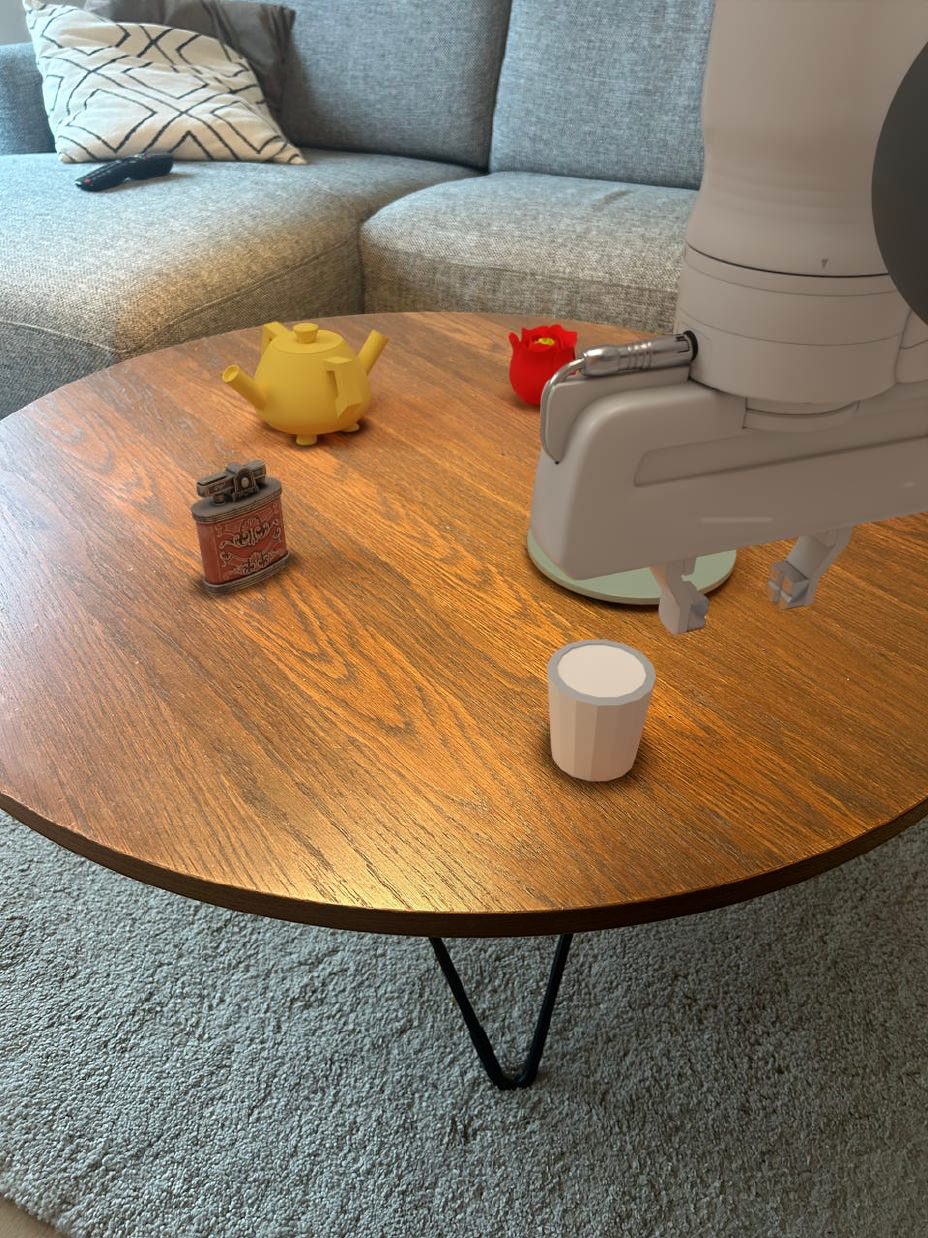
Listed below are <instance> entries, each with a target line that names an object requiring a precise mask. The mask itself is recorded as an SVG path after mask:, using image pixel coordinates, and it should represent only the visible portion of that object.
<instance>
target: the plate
mask: <svg viewBox="0 0 928 1238" xmlns="http://www.w3.org/2000/svg"><path fill="white" fill-rule="evenodd" d="M526 548H527V553H528V555H529V558H530V560H531V561H532V563H533V564H534V566H535V567H536V568H537V569H538V570H539V571H540V572H541V573H542V574H543V575H545V576H546V577H547V578H548V579H549V580H551V581H553V582H555V584H558V585H559V586H562V587H563V588H566V589H567V590H570V591H571V592H574V593H577V594H580V595H583V596H586V597H590V598H593V599H597V600H601V601H606V602H611V603H618V604H624V605H638V606H639V605H640V606H641V605H659V603H660V595H661V588H660V586H659V585H658V583H657V581H656V580H655V578H654V576H653V574H652V572H651V571H650V569H649V567H646V568H641V569H636V570H631V571H626V572H621V573H616V574H611V575H606V576H601V577H596V578H591V579H586V580H573V579H571V578H569V577H568V576H567V575H566V574H564V573H563V572H562V571H561V570H560V569H559V568H558V567H557V566H556V565H554V564H553V562H552V561H551V560H550V559H549V558H548V557H547V556H546V555H545V554H544V552H543V551H542V550H541V548H540V547H539V546H538V544H537V543H536V541H535V539H534V537H533V535H532V532H531V528H530V527H528V529H527V535H526ZM737 550H738V549H736V550H731V551H726V552H721V553H716V554H711V555H706V556H701V557H696V563H695V569H694V572H693V573H692V574H691V575H686V576H684V575H683V574H682V579H683V581H690V582H691V583H692V584H693V585H694V586H696V587H697V590H696V591H698V592H701V593H703V594H704V595H706V594H707V593H709V592H711V591H713V590H715V589H716V588H718V587H719V586H721V585H723V584H724V583H725V582H726V581H727V580H728V579H729V577H730V576H731V574H732V573H733V571H734V568H735V566H736V562H737V556H738V555H737V553H738V552H737Z"/></svg>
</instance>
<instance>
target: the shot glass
mask: <svg viewBox="0 0 928 1238" xmlns="http://www.w3.org/2000/svg"><path fill="white" fill-rule="evenodd" d="M546 674H547V692H548V695H547V696H548V714H549V731H550V733H549V734H550V749H551V756H552V760H553V761H554V762H555V764H556V765H557V766H558V767H559V769H560V770H561V771H563V772H564V773H566V774H568V775H569V776H571V777H573V778H576V779H580V780H583V781H587V782H609V781H612V780H614V779H615V780H616V779H618V778H621V777H623V776H624V775H625V774H626V773H628V772H630V770H631V769H632V768H633V766H634V763H635V760H636V757H637V753H638V750H639V746H640V741H641V738H642V734H643V730H644V726H645V723H646V719H647V714H648V711H649V709H650V704H651V699H652V696H653V691H654V688H655V685H656V680H657V674H656V670H655V668H654V663H653V662H652V661H651V660H649V658H648V657H647V656H646V655H645V654H644V653H643V652H641V651H640V650H637V649H636V648H634V647H632V646H630V645H628V644H626V643H623V642H617V641H613V640H610V639H604V638H603V639H602V638H601V639H582V640H577V641H574V642H570V643H566V644H564V645H563V646H561V647H560V648H559V649H557V650H555V652H553V653H552V655H551V657H550V659H549V660H548V662H547V664H546Z"/></svg>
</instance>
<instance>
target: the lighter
mask: <svg viewBox="0 0 928 1238" xmlns="http://www.w3.org/2000/svg"><path fill="white" fill-rule="evenodd" d="M266 475H267V467H266V462H265V461H264V460H262V459H255V460H252V461H249V462H245V463H243V464H241V463H239V462H237V461H232V462H229V463H228V464H226V467H225V469H224V471H217V472H215V473H212V474H209V475H207V476H204V477H201V478H199V479H197V481H196V482H195V487H196V494H197V496H198V497H200V498H202V499H200V500H198V501H196V502H194V503H193V504H192V505H191V507H190V511H191V516H192V520H194V522H195V526H196V532H197V538H198V544H199V549H200V556H201V562H202V567H203V573H204V575H203V578H202V579H203V585H204V590H205V591H206V592H207V593H209V594H211V595H215V596H222V595H227V594H230V593H233V592H236V591H239V590H243V589H245V588H247V587H250V586H252V585H255V584H258V583H259V582H262V581H264V580H266V579H268V578H270V577H272V576H273V575H275V574H277V573H278V572H280V571H282V570H283V569H285V568H286V567H288V566H289V565H290V563H291V557H290V551H289V549H288V548H287V540H286V532H285V523H284V516H283V505H282V497H281V496H282V494H283V486H282V482H281V480H280V479H277V478H275V477H267V476H266Z"/></svg>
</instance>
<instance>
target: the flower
mask: <svg viewBox="0 0 928 1238" xmlns="http://www.w3.org/2000/svg"><path fill="white" fill-rule="evenodd" d="M520 332H521V335H520V339H519V336H518V335H517V334H516V333H515V332H512V331H511V332H510V333H509V334H508V340H509V344H510V345H511V349H512V355H511V358H510V363H509V371H508V372H509V373H508V377H509V382H510V385H511V387H512V389H513V391H514V393H515V394H516V395H517V397H519V398H520V400H521V401H522V402H523V403H525V404H529V405H535V406H536V405H537V406H541V396H542V392H543V389H544V386H545V384H546V382H547V381H548V380H550V379H551V378H552V377H553V375H554V374H555V373H556V372H557V371H558V370H559V369H560V368H561V367H563V366H564V365H566V364H567V363H569V362H571V361H573V360H575V359H577V356H576V352H575V351H576V350H575V349H576V344H577V342H578V340H579V339H578V332H577V331H576V330H566V329H565V328H563V327H562V325H561V324H559V323H555V324H552V325H550V326H549V325H539V326H536V327H534V328H531V329H528V328H525V327H524V326H522V327H521V331H520ZM572 375H577V371H575V372H574V373H572V374H570V375H569V376H572Z"/></svg>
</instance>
